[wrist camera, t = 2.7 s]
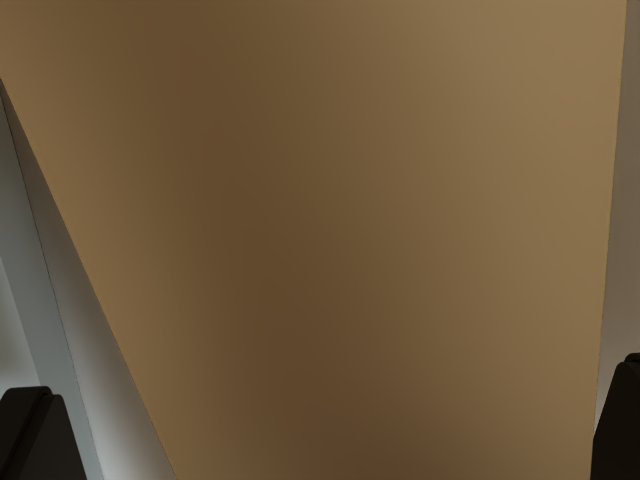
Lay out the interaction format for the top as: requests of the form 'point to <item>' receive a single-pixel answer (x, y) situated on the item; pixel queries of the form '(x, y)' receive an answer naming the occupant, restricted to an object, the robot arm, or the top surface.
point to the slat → (338, 222)
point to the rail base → (33, 307)
